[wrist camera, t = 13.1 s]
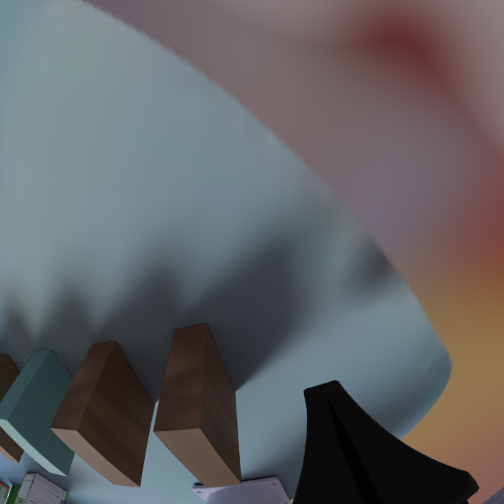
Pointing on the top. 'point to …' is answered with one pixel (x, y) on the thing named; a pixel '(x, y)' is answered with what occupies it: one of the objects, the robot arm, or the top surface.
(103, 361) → the tile
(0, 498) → the cracker box
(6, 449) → the tile
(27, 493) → the syrup box
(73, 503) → the top surface
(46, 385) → the teal tile
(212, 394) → the tile
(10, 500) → the hardback book
